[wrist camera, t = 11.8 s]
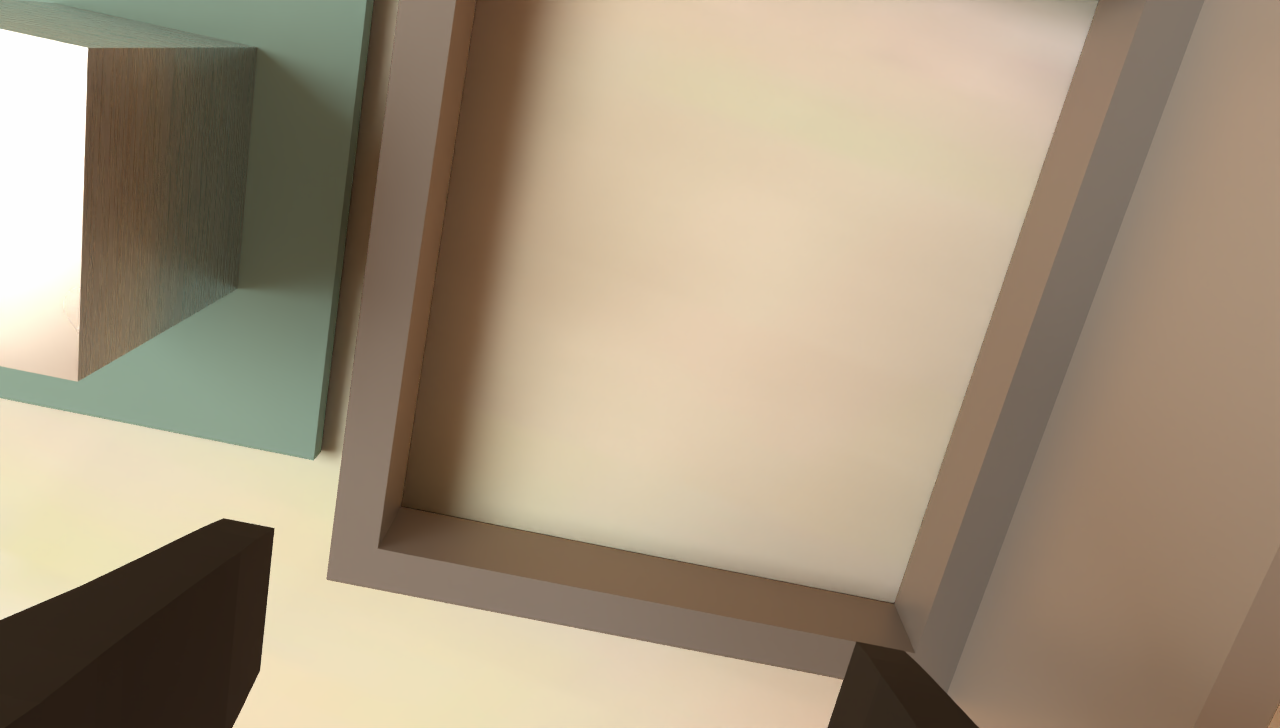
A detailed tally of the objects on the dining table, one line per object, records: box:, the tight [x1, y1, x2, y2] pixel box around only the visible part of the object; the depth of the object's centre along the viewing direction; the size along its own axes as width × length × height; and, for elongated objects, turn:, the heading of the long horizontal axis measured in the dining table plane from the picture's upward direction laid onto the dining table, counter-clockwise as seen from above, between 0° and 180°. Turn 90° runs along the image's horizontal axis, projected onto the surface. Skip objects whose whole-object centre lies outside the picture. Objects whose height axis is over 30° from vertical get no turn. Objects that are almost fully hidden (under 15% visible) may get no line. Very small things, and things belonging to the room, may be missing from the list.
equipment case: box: [327, 0, 1280, 728], centre depth 17 cm, size 16×15×9 cm
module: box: [0, 0, 258, 382], centre depth 17 cm, size 5×4×6 cm
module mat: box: [0, 0, 374, 460], centre depth 20 cm, size 12×8×1 cm, turn 168°
